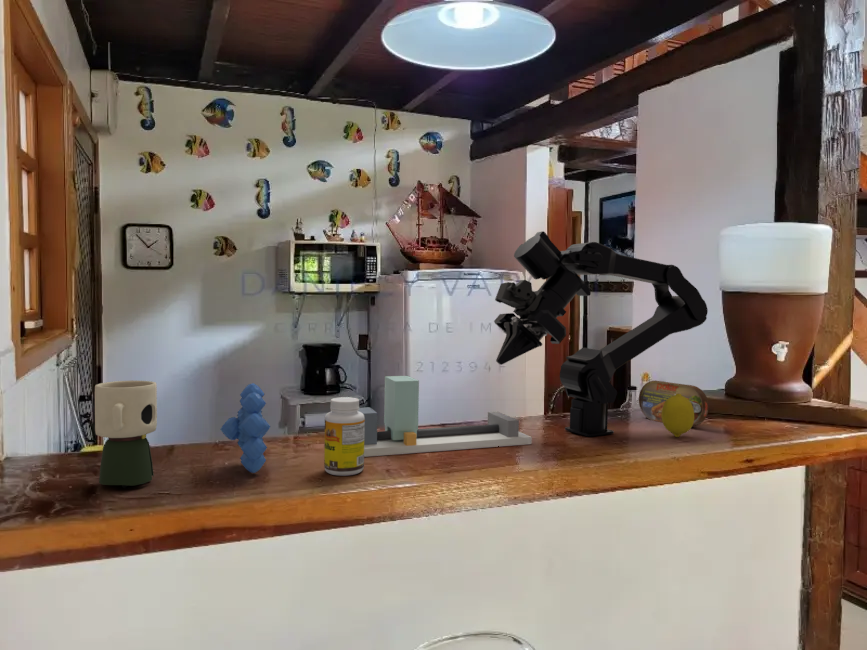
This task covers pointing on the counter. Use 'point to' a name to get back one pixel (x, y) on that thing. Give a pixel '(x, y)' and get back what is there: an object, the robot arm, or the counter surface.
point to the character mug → (126, 430)
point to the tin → (660, 391)
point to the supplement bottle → (344, 437)
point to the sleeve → (401, 405)
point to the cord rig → (443, 436)
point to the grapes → (249, 428)
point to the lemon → (677, 415)
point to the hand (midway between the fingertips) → (498, 362)
